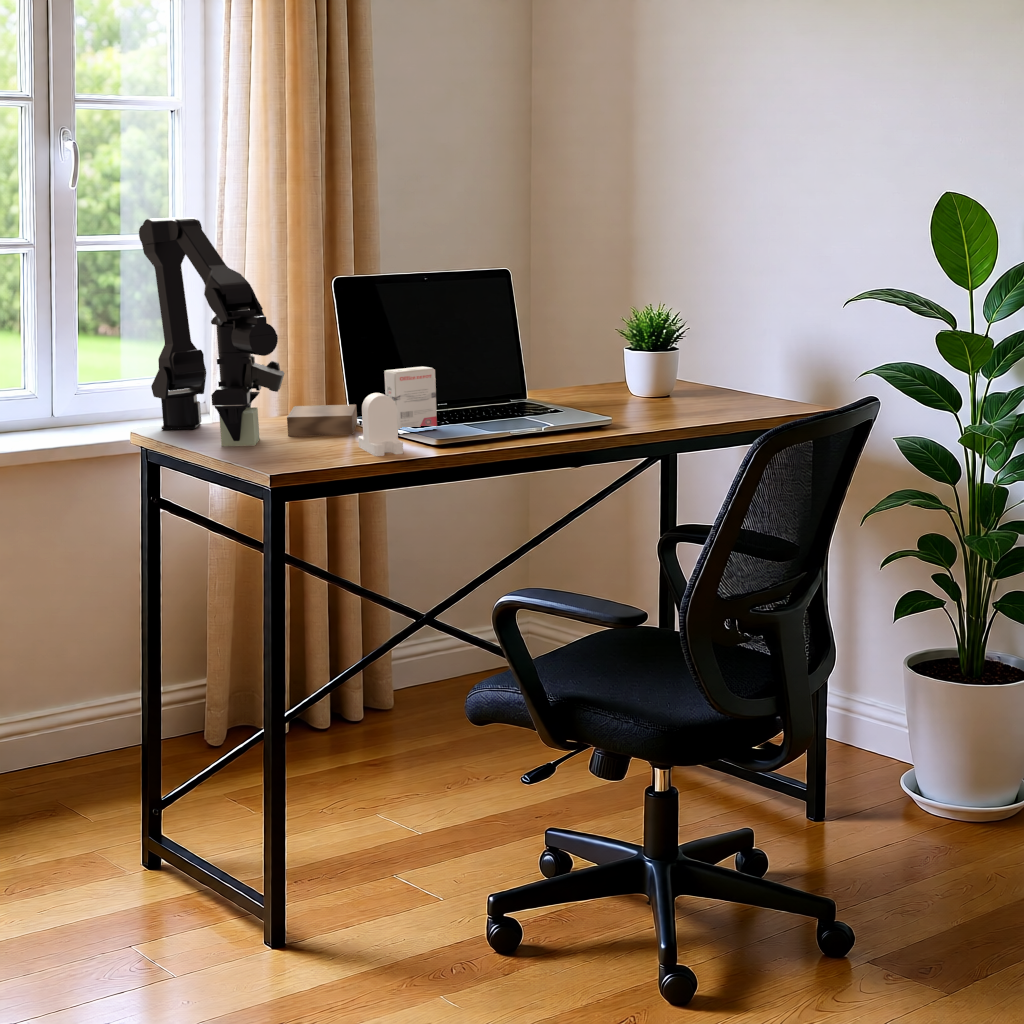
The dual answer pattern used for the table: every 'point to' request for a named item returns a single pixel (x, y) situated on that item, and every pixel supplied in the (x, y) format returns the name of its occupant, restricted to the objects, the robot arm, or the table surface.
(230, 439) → the sage cube
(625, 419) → the table surface
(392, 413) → the white rounded upright block
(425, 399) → the ink box
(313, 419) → the walnut block
